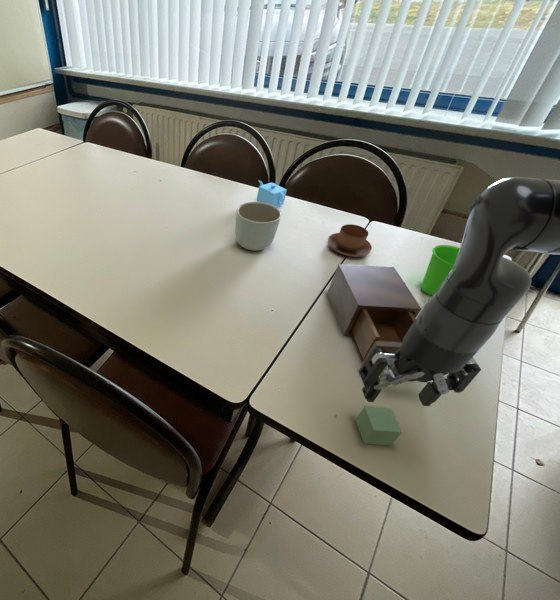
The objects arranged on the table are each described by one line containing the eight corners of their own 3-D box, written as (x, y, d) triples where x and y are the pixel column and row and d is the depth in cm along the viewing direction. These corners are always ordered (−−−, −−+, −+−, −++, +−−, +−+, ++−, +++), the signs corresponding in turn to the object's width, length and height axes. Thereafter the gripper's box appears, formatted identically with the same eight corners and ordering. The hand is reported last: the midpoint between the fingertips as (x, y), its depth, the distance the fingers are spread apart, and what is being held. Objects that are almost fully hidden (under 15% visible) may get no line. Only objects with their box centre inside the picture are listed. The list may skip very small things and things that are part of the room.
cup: (414, 296, 93) (435, 261, 85) (410, 276, 99) (430, 241, 92) (455, 305, 90) (481, 269, 83) (448, 284, 96) (472, 249, 89)
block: (390, 445, 63) (402, 432, 60) (363, 443, 63) (373, 430, 60) (381, 421, 67) (391, 407, 63) (355, 419, 67) (364, 405, 64)
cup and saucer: (329, 234, 115) (336, 216, 111) (371, 244, 111) (379, 226, 107) (322, 253, 107) (329, 235, 103) (367, 264, 103) (375, 246, 99)
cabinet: (402, 339, 82) (421, 308, 75) (343, 335, 82) (358, 305, 76) (378, 296, 93) (393, 266, 87) (326, 293, 94) (338, 263, 87)
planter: (271, 235, 115) (279, 203, 107) (275, 257, 105) (283, 224, 98) (231, 232, 116) (236, 200, 109) (231, 254, 107) (236, 220, 100)
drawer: (433, 394, 70) (454, 370, 65) (370, 390, 70) (386, 366, 66) (395, 325, 84) (410, 301, 79) (343, 322, 84) (354, 298, 79)
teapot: (249, 199, 133) (252, 179, 128) (261, 195, 135) (265, 176, 130) (273, 213, 125) (278, 192, 120) (286, 208, 128) (291, 188, 123)
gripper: (404, 348, 45) (356, 417, 56) (526, 355, 44) (453, 424, 55) (382, 306, 51) (342, 377, 62) (489, 312, 50) (430, 382, 61)
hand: (395, 399), depth 58 cm, fingers open, 8 cm apart
